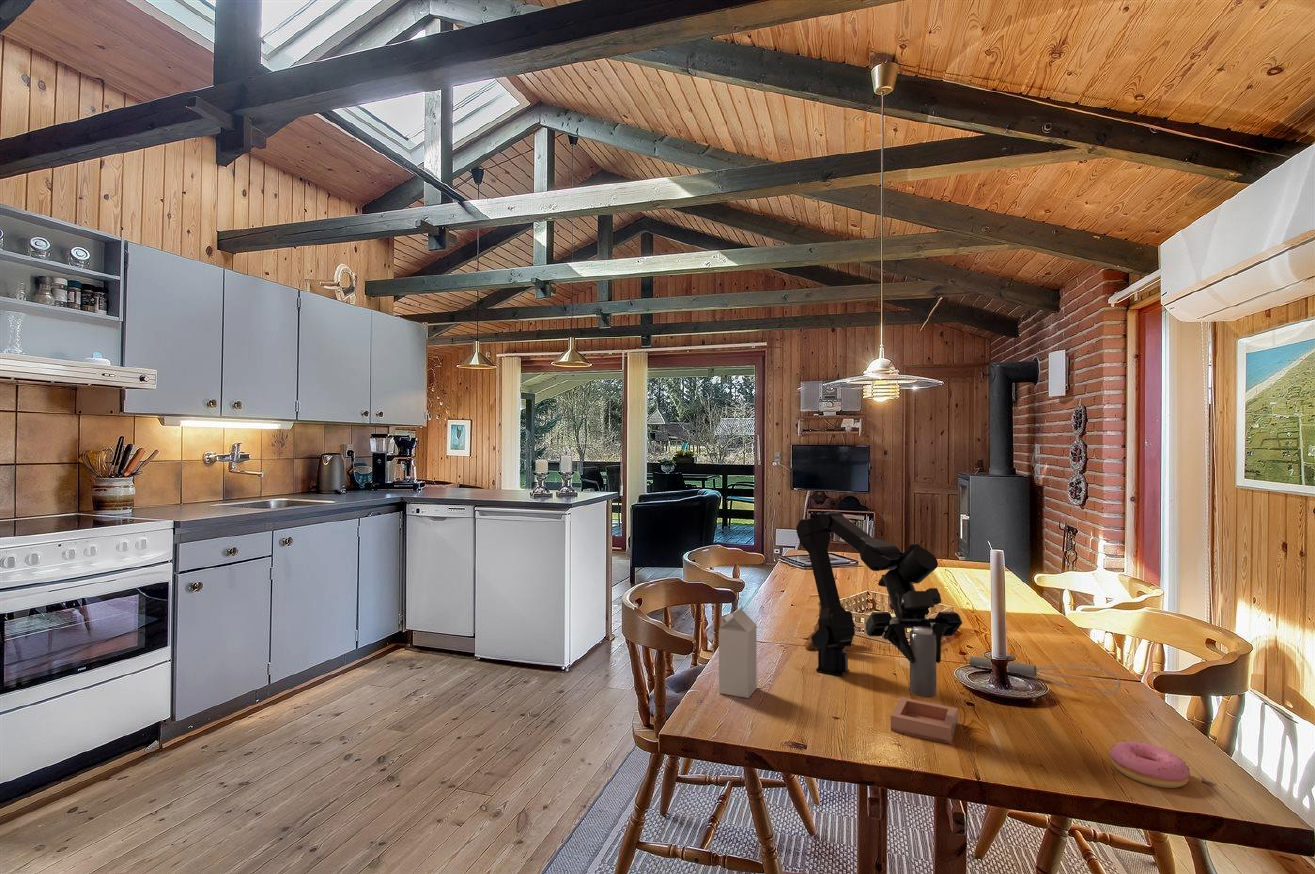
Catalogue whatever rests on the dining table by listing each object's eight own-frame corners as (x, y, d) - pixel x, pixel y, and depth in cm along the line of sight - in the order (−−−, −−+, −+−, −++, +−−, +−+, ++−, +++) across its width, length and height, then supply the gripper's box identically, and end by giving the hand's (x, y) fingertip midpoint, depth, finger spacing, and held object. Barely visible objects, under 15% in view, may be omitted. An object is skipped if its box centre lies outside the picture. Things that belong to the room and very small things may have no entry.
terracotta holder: (890, 730, 122) (890, 715, 122) (900, 710, 132) (900, 696, 132) (951, 744, 116) (951, 728, 116) (957, 722, 126) (957, 708, 126)
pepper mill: (907, 693, 123) (907, 629, 124) (912, 685, 128) (911, 623, 128) (934, 699, 121) (934, 633, 121) (938, 690, 125) (937, 627, 125)
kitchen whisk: (965, 661, 163) (964, 637, 164) (1122, 695, 141) (1122, 668, 141) (958, 667, 159) (958, 643, 159) (1119, 704, 136) (1119, 675, 137)
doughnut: (1130, 788, 102) (1130, 763, 102) (1097, 756, 112) (1097, 733, 112) (1206, 796, 99) (1206, 770, 99) (1165, 762, 110) (1164, 739, 110)
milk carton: (756, 688, 144) (756, 607, 145) (748, 699, 138) (748, 614, 138) (728, 683, 147) (728, 604, 148) (718, 693, 141) (718, 611, 141)
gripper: (870, 573, 128) (891, 643, 117) (957, 573, 129) (987, 642, 117) (857, 602, 136) (876, 669, 125) (939, 601, 136) (966, 669, 125)
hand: (926, 662), depth 123 cm, fingers closed on pepper mill, 5 cm apart
